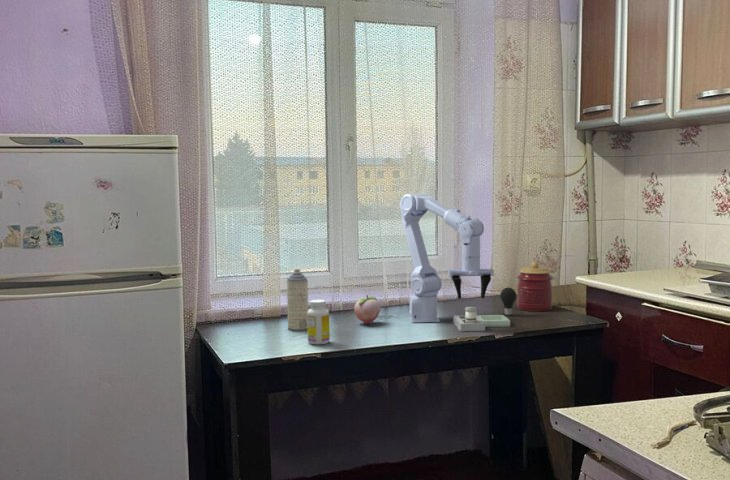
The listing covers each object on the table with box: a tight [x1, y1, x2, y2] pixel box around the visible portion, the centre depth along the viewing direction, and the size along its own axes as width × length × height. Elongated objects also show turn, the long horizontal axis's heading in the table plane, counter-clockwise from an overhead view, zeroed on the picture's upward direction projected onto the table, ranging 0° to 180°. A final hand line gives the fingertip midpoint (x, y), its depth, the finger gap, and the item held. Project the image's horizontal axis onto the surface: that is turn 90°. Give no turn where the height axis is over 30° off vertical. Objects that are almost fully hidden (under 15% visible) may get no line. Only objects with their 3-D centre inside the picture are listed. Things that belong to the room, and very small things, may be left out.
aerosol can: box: [286, 268, 309, 332], centre depth 231 cm, size 7×7×20 cm
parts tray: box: [476, 314, 511, 328], centre depth 236 cm, size 9×9×2 cm
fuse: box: [464, 306, 478, 323], centre depth 229 cm, size 4×4×7 cm
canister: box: [516, 261, 554, 312], centre depth 261 cm, size 13×13×18 cm
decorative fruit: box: [353, 294, 381, 325], centre depth 238 cm, size 9×8×10 cm
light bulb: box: [499, 287, 517, 317], centre depth 249 cm, size 6×6×10 cm
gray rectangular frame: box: [452, 314, 486, 332], centre depth 232 cm, size 8×13×2 cm, turn 3°
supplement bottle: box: [307, 299, 331, 346], centre depth 213 cm, size 7×7×13 cm
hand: (471, 298), depth 228 cm, fingers open, 7 cm apart
